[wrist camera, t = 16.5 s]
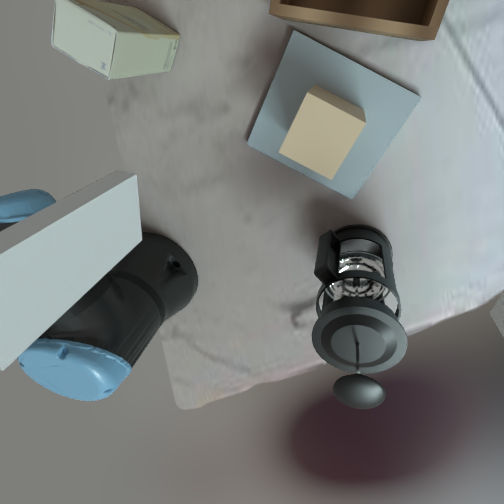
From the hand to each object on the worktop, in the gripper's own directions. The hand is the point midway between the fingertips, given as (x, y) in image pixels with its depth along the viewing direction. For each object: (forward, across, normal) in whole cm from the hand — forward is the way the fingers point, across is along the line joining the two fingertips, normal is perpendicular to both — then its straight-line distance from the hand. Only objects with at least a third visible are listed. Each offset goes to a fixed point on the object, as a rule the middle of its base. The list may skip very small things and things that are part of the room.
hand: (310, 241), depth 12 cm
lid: (+32, 0, -1) cm, 32 cm away
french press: (+32, +7, -18) cm, 37 cm away
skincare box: (+32, -22, +5) cm, 39 cm away
